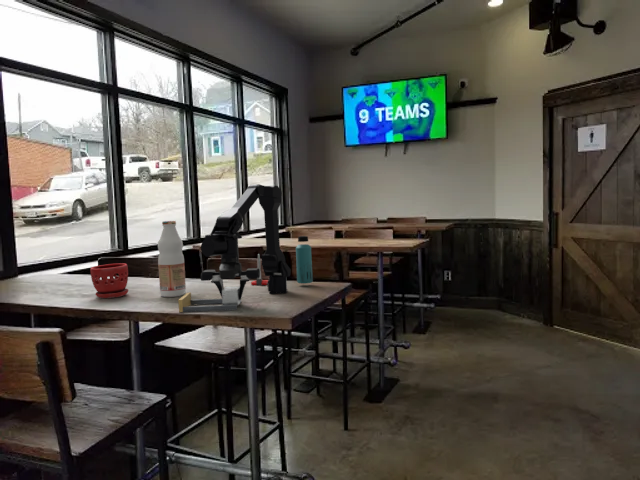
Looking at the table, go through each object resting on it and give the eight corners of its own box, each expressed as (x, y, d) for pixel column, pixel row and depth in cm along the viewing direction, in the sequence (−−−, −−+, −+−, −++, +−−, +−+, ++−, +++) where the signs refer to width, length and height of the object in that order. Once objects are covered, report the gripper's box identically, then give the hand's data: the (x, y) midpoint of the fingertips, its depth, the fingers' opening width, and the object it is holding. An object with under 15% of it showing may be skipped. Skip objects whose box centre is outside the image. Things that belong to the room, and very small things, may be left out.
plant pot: (112, 292, 200) (110, 262, 199) (136, 294, 194) (135, 263, 193) (84, 298, 189) (82, 267, 188) (109, 300, 183) (107, 268, 182)
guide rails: (241, 302, 172) (240, 290, 172) (236, 309, 160) (235, 297, 160) (187, 304, 172) (187, 292, 172) (179, 312, 159) (178, 299, 159)
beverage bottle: (307, 287, 196) (305, 236, 195) (293, 286, 200) (291, 236, 198) (316, 285, 202) (314, 235, 200) (302, 284, 205) (300, 235, 204)
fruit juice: (157, 297, 185) (152, 222, 183) (164, 293, 195) (159, 221, 193) (182, 296, 186) (178, 221, 183) (188, 292, 195) (184, 220, 193)
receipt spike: (255, 282, 215) (248, 285, 206) (254, 252, 215) (248, 254, 206) (274, 282, 214) (268, 285, 205) (273, 252, 214) (268, 254, 205)
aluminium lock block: (241, 300, 170) (240, 286, 169) (238, 305, 163) (237, 290, 162) (226, 301, 170) (225, 286, 169) (222, 305, 163) (221, 290, 162)
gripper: (195, 257, 156) (198, 306, 158) (255, 255, 157) (258, 304, 158) (202, 253, 168) (205, 299, 169) (259, 251, 168) (261, 297, 169)
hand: (231, 300), depth 166 cm, fingers closed on aluminium lock block, 5 cm apart
